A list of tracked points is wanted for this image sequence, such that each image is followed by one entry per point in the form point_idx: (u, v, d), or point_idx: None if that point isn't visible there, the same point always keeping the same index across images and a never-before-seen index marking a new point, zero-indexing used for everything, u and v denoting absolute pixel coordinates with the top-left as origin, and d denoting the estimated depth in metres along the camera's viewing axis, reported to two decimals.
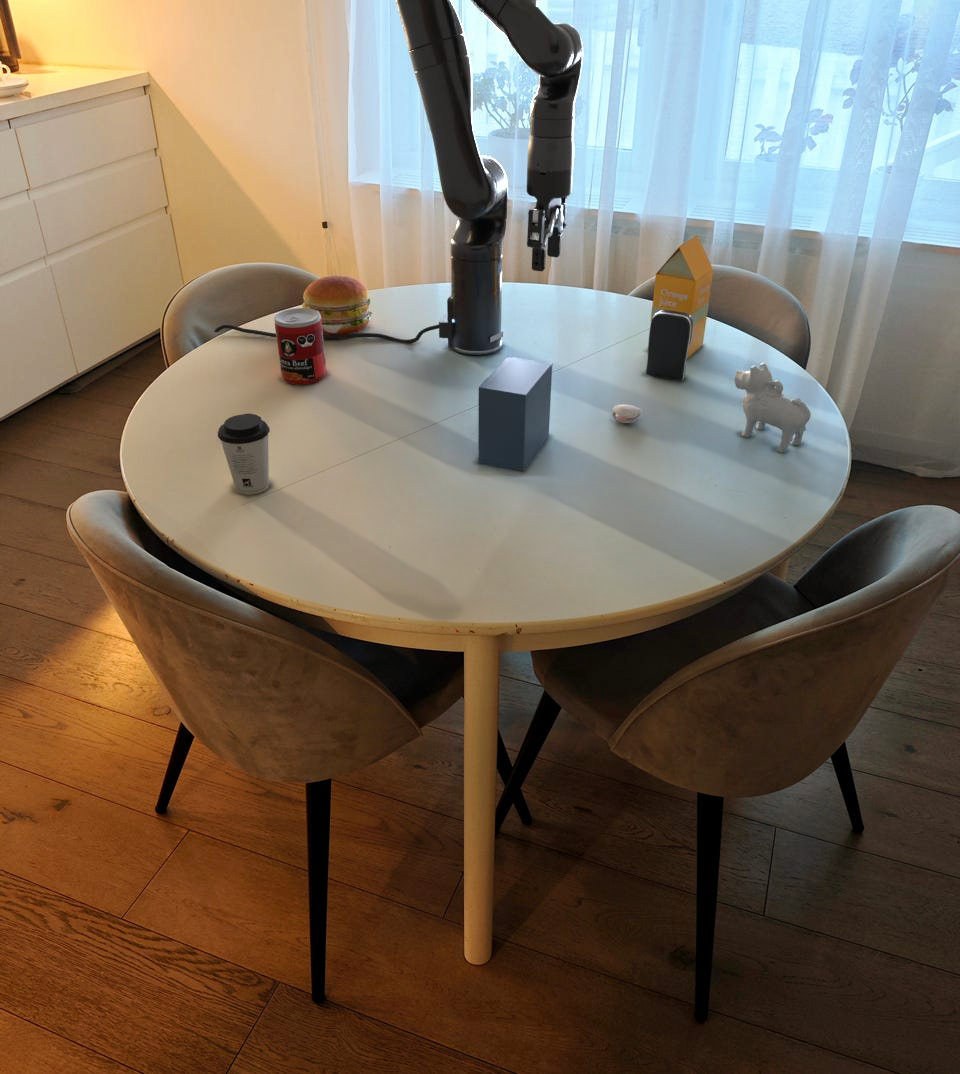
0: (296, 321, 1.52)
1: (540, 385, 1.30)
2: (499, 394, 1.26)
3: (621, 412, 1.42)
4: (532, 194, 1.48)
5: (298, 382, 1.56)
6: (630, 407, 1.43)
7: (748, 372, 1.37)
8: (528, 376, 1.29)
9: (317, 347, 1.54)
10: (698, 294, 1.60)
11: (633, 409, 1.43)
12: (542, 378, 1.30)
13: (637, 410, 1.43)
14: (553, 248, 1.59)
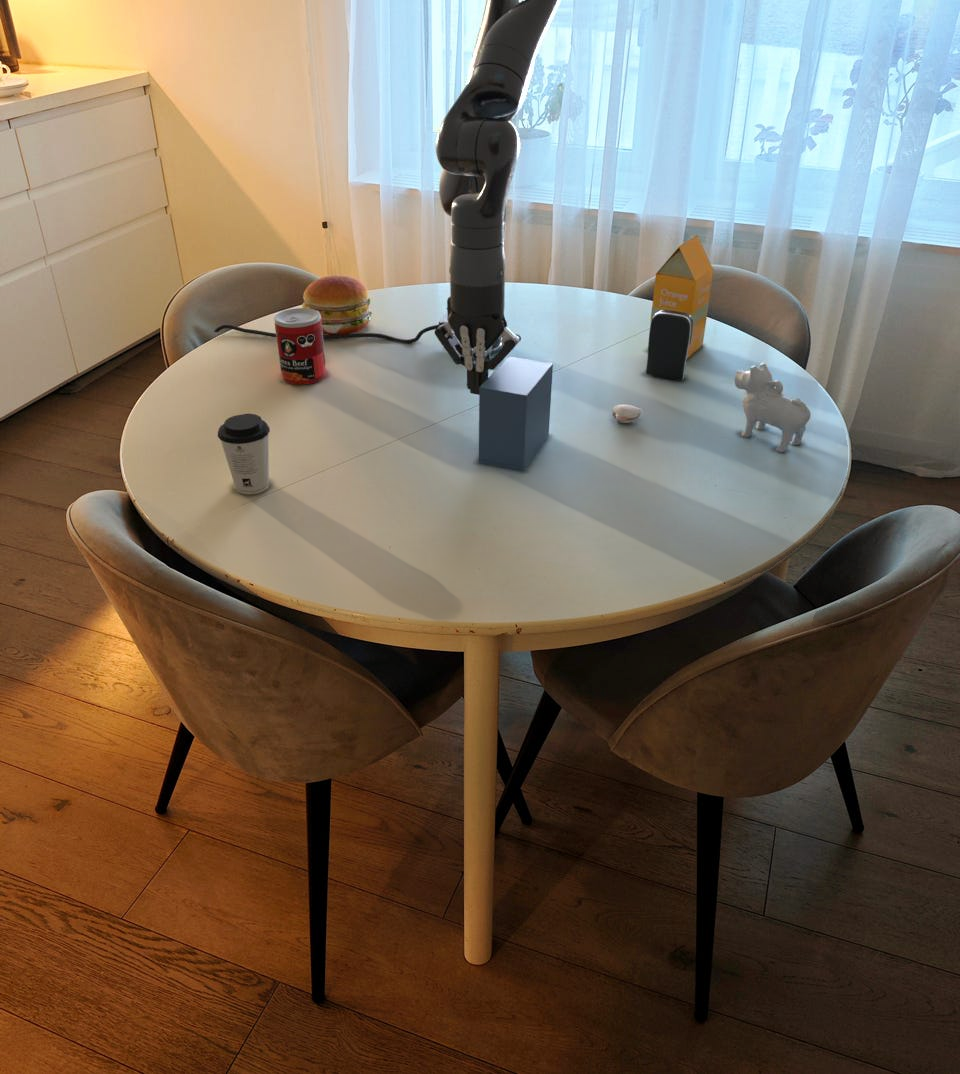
0: (296, 321, 1.52)
1: (541, 386, 1.30)
2: (500, 394, 1.25)
3: (621, 412, 1.42)
4: None
5: (298, 382, 1.56)
6: (630, 407, 1.43)
7: (748, 372, 1.37)
8: (529, 376, 1.29)
9: (317, 347, 1.54)
10: (698, 294, 1.60)
11: (633, 409, 1.43)
12: (543, 378, 1.30)
13: (637, 410, 1.43)
14: None
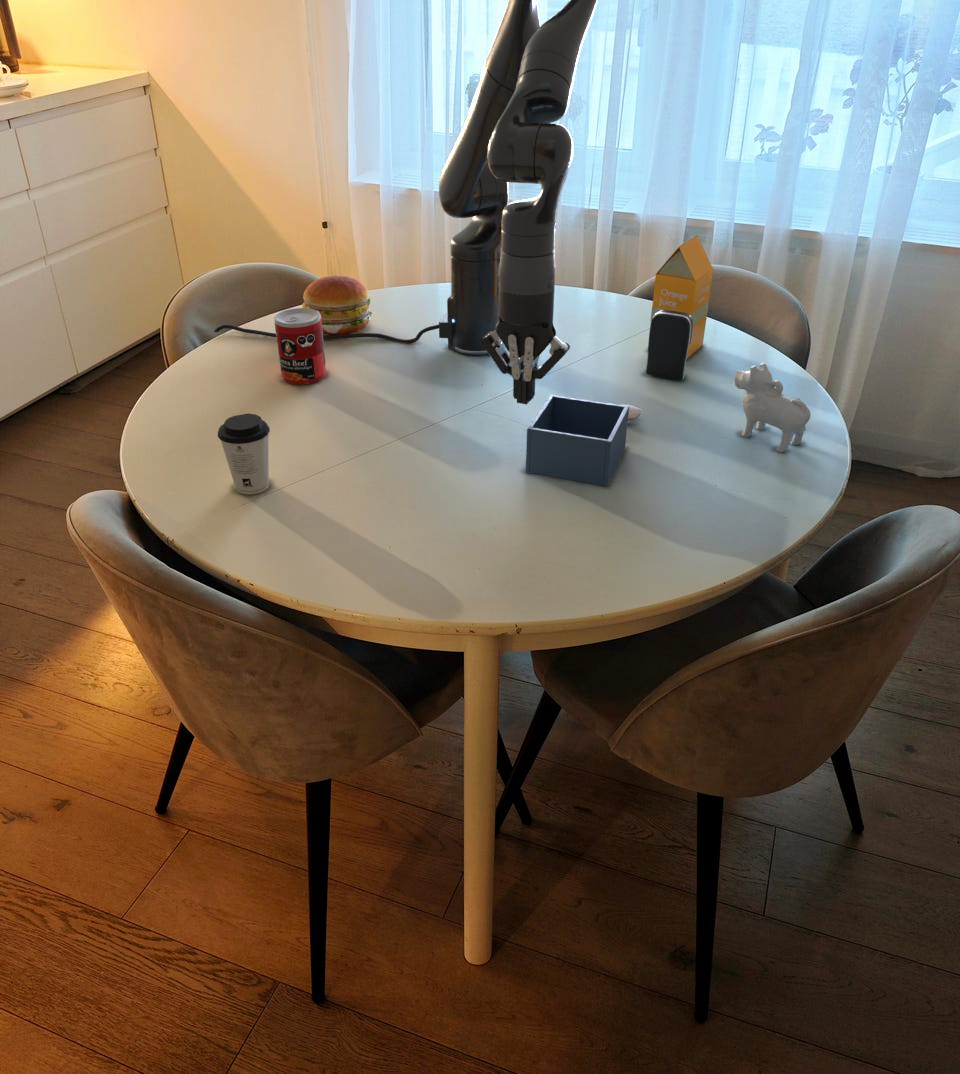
0: (296, 321, 1.52)
1: None
2: (605, 461, 1.25)
3: None
4: None
5: (298, 382, 1.56)
6: (630, 407, 1.43)
7: (748, 372, 1.37)
8: (617, 456, 1.31)
9: (317, 347, 1.54)
10: (698, 294, 1.60)
11: (633, 409, 1.43)
12: None
13: (637, 410, 1.43)
14: None
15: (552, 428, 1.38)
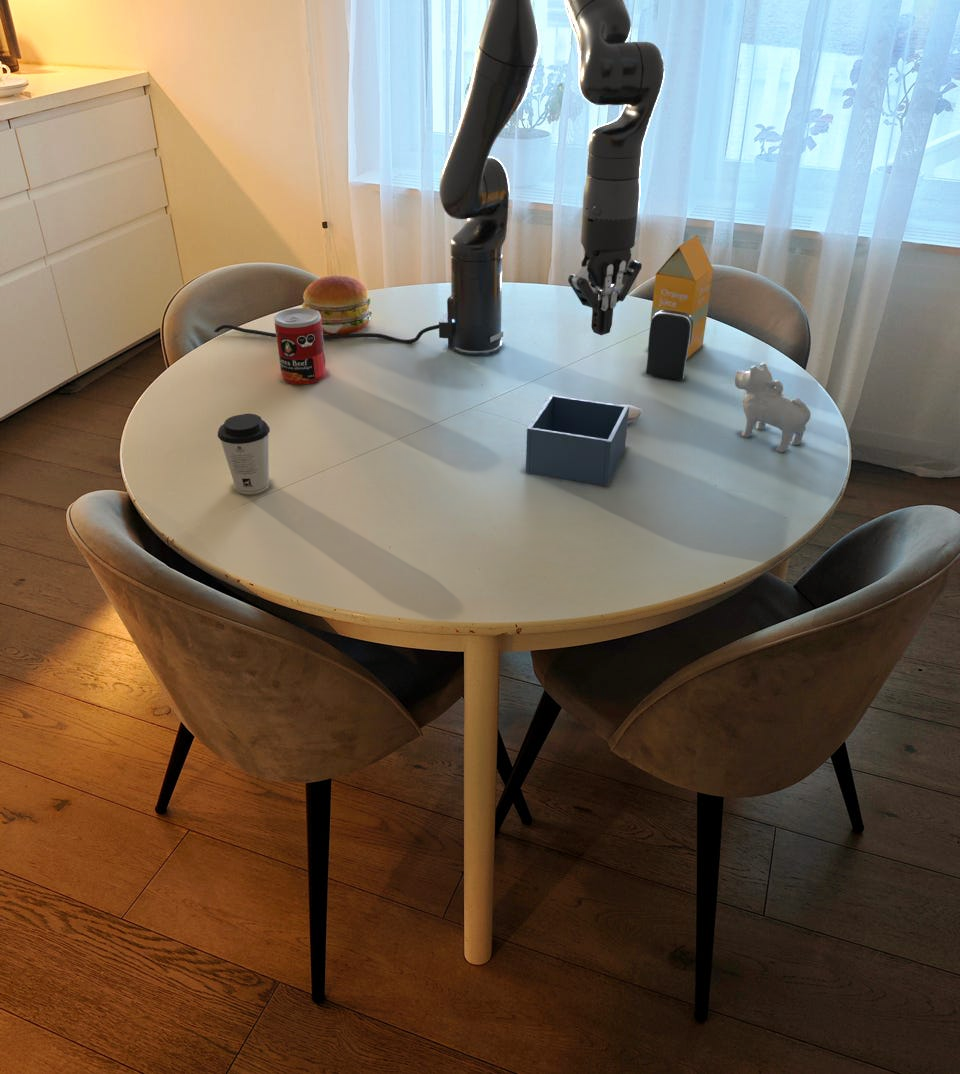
0: (296, 321, 1.52)
1: None
2: (605, 461, 1.25)
3: None
4: (582, 243, 1.24)
5: (298, 382, 1.56)
6: (630, 407, 1.43)
7: (748, 372, 1.37)
8: (617, 456, 1.31)
9: (317, 347, 1.54)
10: (698, 294, 1.60)
11: (633, 409, 1.43)
12: None
13: (637, 410, 1.43)
14: None
15: (552, 428, 1.38)
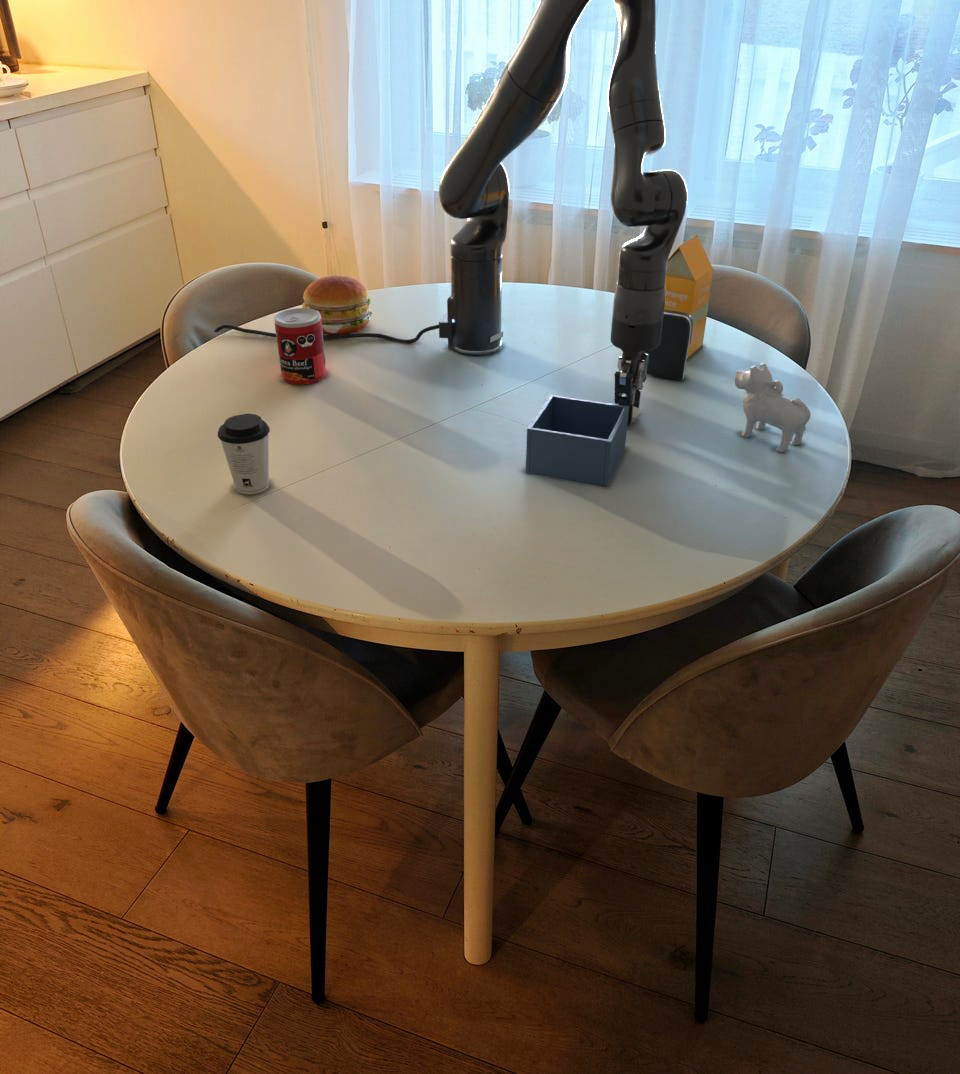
0: (296, 321, 1.52)
1: None
2: (605, 461, 1.25)
3: None
4: (618, 346, 1.35)
5: (298, 382, 1.56)
6: None
7: (748, 372, 1.37)
8: (617, 456, 1.31)
9: (317, 347, 1.54)
10: (698, 294, 1.60)
11: (633, 409, 1.43)
12: None
13: (637, 410, 1.43)
14: None
15: (552, 428, 1.38)
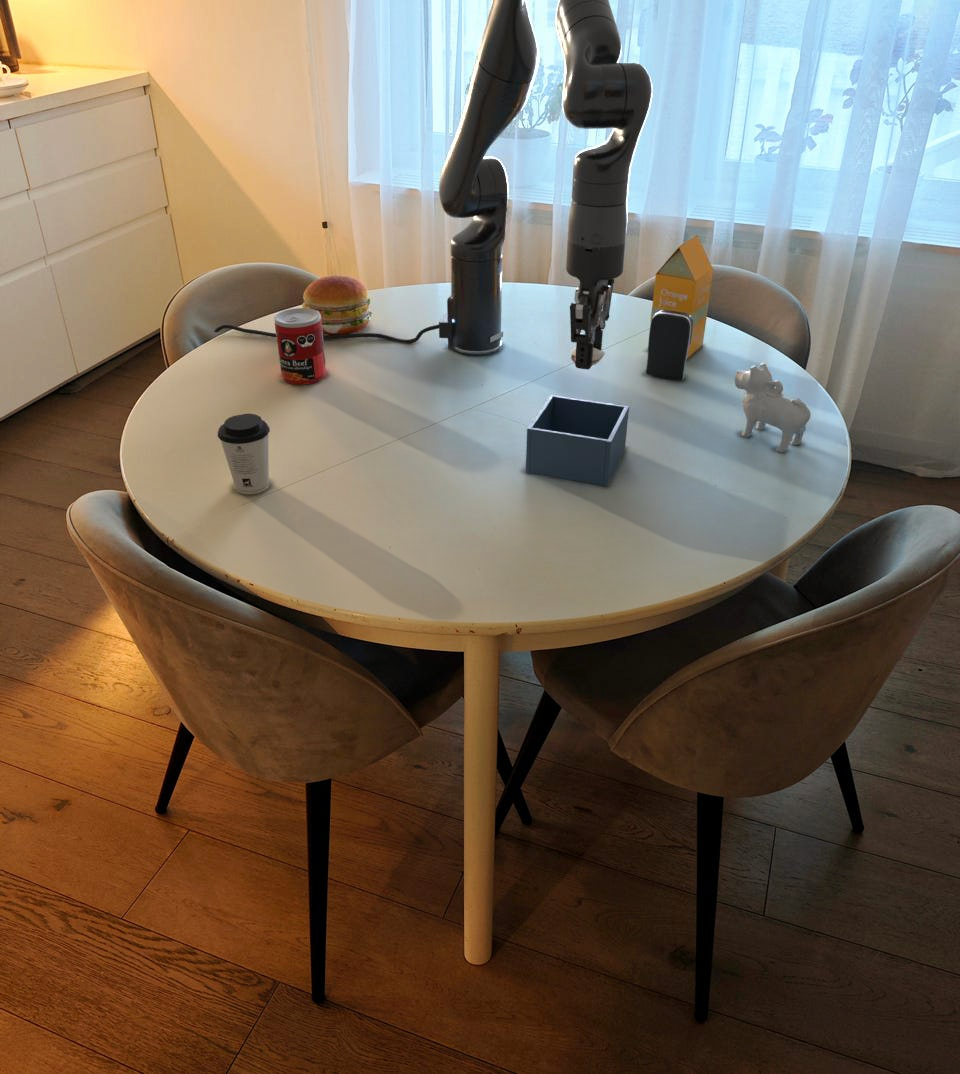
0: (296, 321, 1.52)
1: None
2: (605, 461, 1.25)
3: None
4: (574, 274, 1.17)
5: (298, 382, 1.56)
6: None
7: (748, 372, 1.37)
8: (617, 456, 1.31)
9: (317, 347, 1.54)
10: (698, 294, 1.60)
11: (594, 351, 1.25)
12: None
13: (599, 352, 1.25)
14: (592, 345, 1.27)
15: (552, 428, 1.38)
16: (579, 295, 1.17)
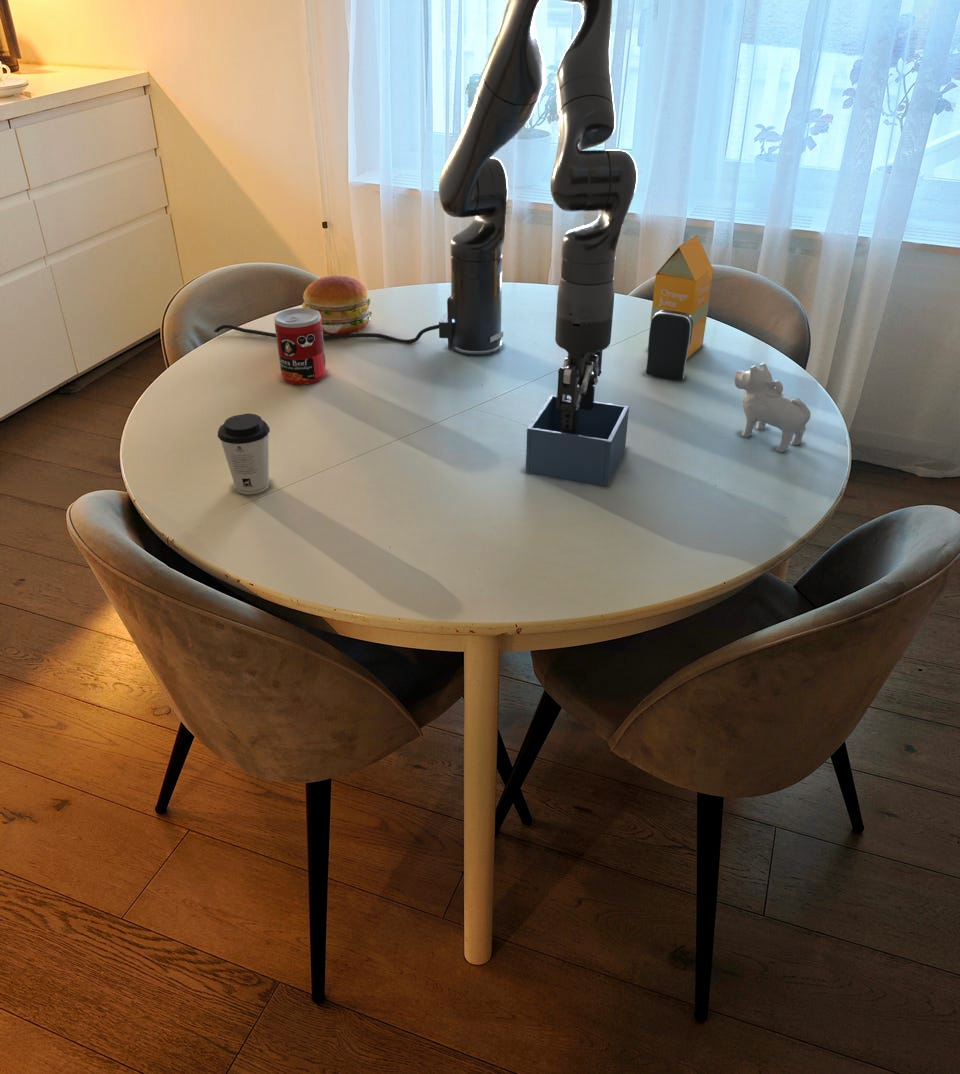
0: (296, 321, 1.52)
1: None
2: (605, 461, 1.25)
3: None
4: (563, 346, 1.21)
5: (298, 382, 1.56)
6: None
7: (748, 372, 1.37)
8: (617, 456, 1.31)
9: (317, 347, 1.54)
10: (698, 294, 1.60)
11: None
12: None
13: None
14: (585, 400, 1.32)
15: (552, 428, 1.38)
16: (567, 366, 1.22)
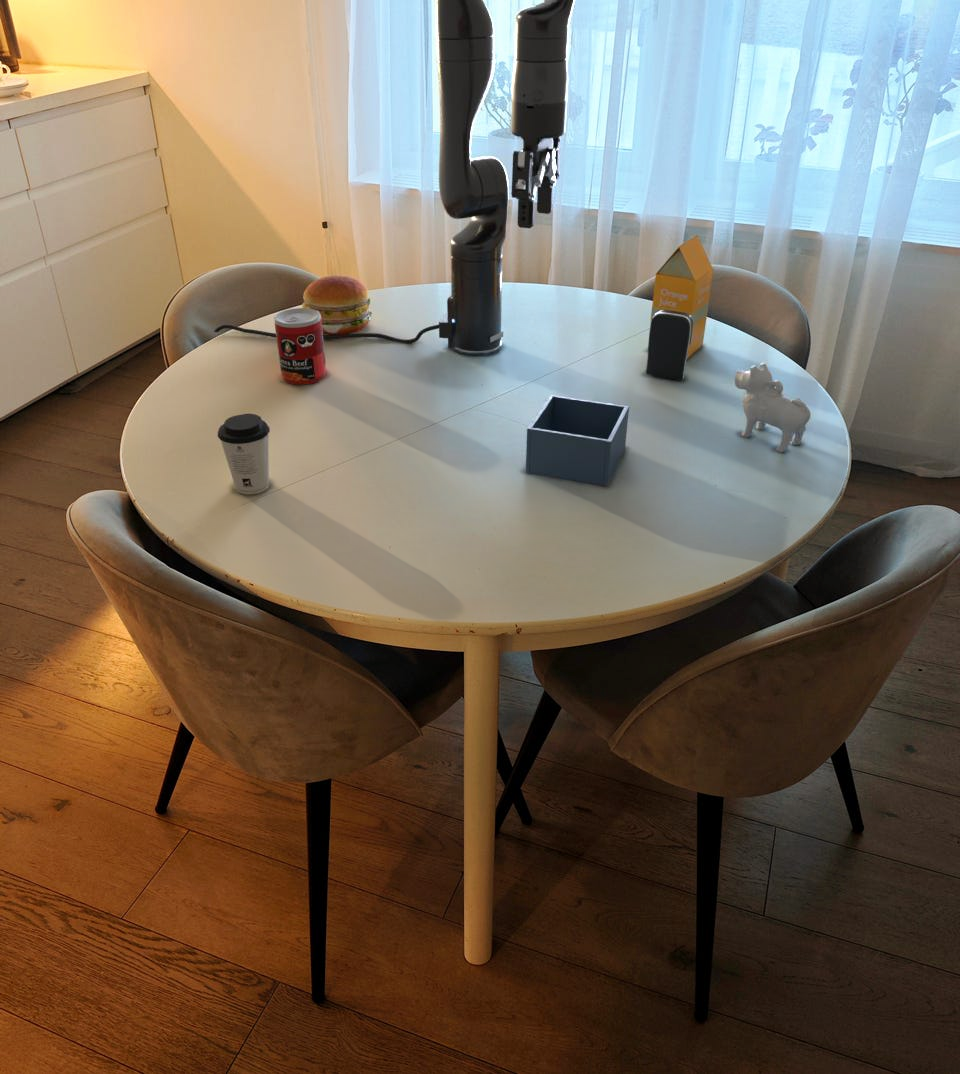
0: (296, 321, 1.52)
1: None
2: (605, 461, 1.25)
3: None
4: (517, 133, 1.23)
5: (298, 382, 1.56)
6: None
7: (748, 372, 1.37)
8: (617, 456, 1.31)
9: (317, 347, 1.54)
10: (698, 294, 1.60)
11: None
12: None
13: None
14: (544, 203, 1.34)
15: (552, 428, 1.38)
16: None
